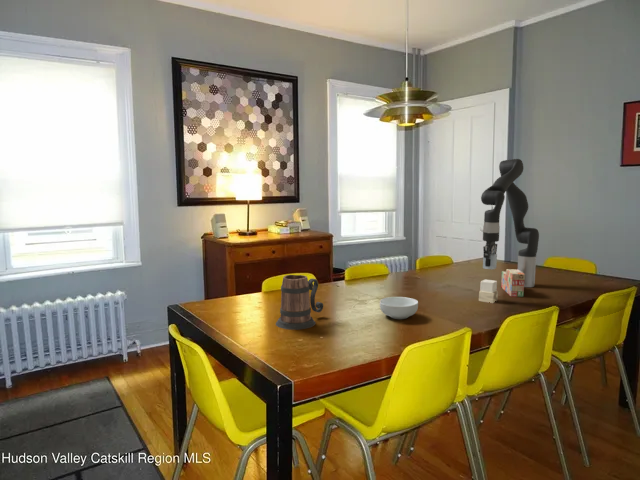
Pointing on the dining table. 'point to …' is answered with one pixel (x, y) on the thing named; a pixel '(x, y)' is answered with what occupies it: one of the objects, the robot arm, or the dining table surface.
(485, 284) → the tower middle
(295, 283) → the tankard
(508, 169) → the robot arm
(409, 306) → the cereal bowl
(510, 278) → the printed cardboard box
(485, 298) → the tower base
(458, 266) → the dining table surface
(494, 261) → the slate block
